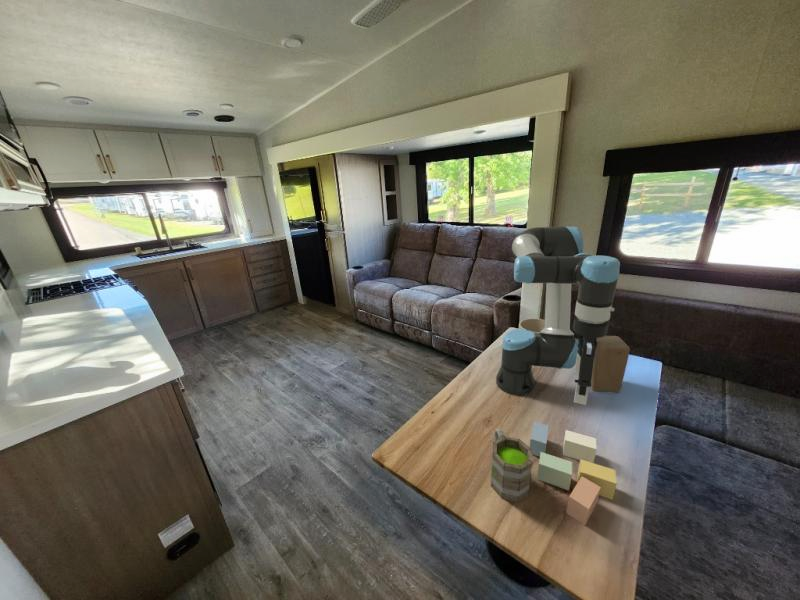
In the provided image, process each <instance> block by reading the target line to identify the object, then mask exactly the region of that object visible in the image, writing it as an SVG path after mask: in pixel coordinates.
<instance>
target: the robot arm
mask: <svg viewBox="0 0 800 600" xmlns="http://www.w3.org/2000/svg"><path fill="white" fill-rule="evenodd" d="M511 250H512V252H513V255H515V257H516V258H515V260H514V264H513V279H514V281H515V282H517V283H522V284H523V283H525V284H546V286H545V287H546V288H545V290H546V291H545V309H544V310H545V311H544V313H545V314H544V320H545V327H544V329H542V330H541V331H540V336H535V334H534V333H533V332H532V331H528V330H525V329H519V328H517V329H513V330H510V331H508V332H506V333H504V336H503V337H502V343H501V348H502V352H501V365H500V367H499V369H498V371H497V374H496V375H495V376H496V377H495V384H496V385H497V387H498V388H499V389H500V390H501V391H503V392H505V393H507V394H510V395H514V396H526V395H529V394H531V393H532V392H533V391H535V388H536V386H535V385H536V381H535V377H534V373H533V371H532V370H533V366H534V367H543V368H544V367H545V368H554V369H555V368H556V369H572V368H574V371H573V375H576V376H578V379H574V383H576V385H575V392H574V397H573V398H574V399H573V403H575V404H580V405H583V406H584V405H585V406H586V405H587V401H588V395H589V390H590V388H591V379H592V370H593V362H594V357H595V350H596V347H597V342H596V340H597V338H600V337H604V336H607V334H608V330H609V325H610V322H609V321H610V319H611V312H614V311H615V308H614V307H613V304H614V298H615V294H616V289H617V284H618V281H619V278H620V266H621V262H620V260H619V259H618V258H616V257H613V256H610V255H599V254H598V255H592V254H590V253H586V252H585V253H584V236H583V234H582V231H581V229H580V228H578V227H577V226H567V225H565V226H545V227H543V226H542V227H540V226H538V227H537V226H536V227H532V228H528V229H525V230H523V231H521V232H519V233H518V234H517V235H516V236H515V237H514V238H513V240H512V243H511ZM572 285H578V292H577V299H576V303H575V308H574V309H575V310H574V315H575V316H574V319H573V326H572V329H573V331H574V332H575V333H576V334H577V335H578V338H576V337H575V333H574V332H573V331H572V330H571V329H570V328H571V327H570V326H571V302H572Z"/></svg>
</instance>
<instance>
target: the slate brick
mask: <svg viewBox="0 0 800 600" xmlns="http://www.w3.org/2000/svg"><path fill="white" fill-rule="evenodd" d="M532 425H533V426H532V429H531V434H530V441H529V447H530V448H531V449H532V456H536V457H539V458H540V453H541V452H543V453H546V449H547V445H548V444H547V443H548V435H549V425H548V424H544V423H541V422H538V421H533V424H532Z"/></svg>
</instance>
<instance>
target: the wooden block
mask: <svg viewBox="0 0 800 600" xmlns="http://www.w3.org/2000/svg"><path fill="white" fill-rule="evenodd" d="M596 342H597V347H596V350H595V357H594V362H593V370H592V379H591V387H590V388H591V390H593V391H594V392H610V393H620V392H621V389H622V386H623V382H624V377H625V372H626V368H627V365H628V361H629V356H630V353H631V347H630V346H629V345H627V343H626V342H625V341H624V340H623V339H622V338H621V337H620V336H617V335H605V336H604V337H600V338H597V340H596Z"/></svg>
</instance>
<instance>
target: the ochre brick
mask: <svg viewBox="0 0 800 600" xmlns="http://www.w3.org/2000/svg"><path fill="white" fill-rule="evenodd" d="M577 471H578V472H577V483H578V482H579V480H580V478H581V477H582V476H583V477H584V478H586V479H588V480H589V481H591V482H593V483H594V484H596V485H598V486H599V487H601V488H600V493H599V496H601V497H603V498H606V499H610V500H612V501H613V500H614V496H615V491H616V487H617V485H618V483H617V474H616V470H615V469H613V468H610V467H606V466H603V465H600V464H598V463H595V462H594V463H591V462H588V461H585V460H582V459H581V460H579V465H578V470H577Z"/></svg>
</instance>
